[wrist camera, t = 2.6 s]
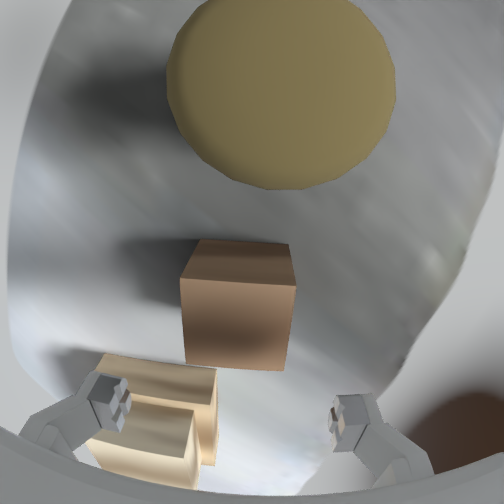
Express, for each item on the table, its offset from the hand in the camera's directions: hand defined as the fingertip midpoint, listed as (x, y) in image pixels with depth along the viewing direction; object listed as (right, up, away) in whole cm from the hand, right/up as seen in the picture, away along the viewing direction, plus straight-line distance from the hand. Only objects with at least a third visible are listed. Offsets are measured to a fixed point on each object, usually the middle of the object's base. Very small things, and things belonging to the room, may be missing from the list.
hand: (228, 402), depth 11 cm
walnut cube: (0, +4, +8) cm, 9 cm away
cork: (+2, +13, +4) cm, 14 cm away
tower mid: (-7, -8, +9) cm, 14 cm away
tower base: (-6, -7, +13) cm, 16 cm away
